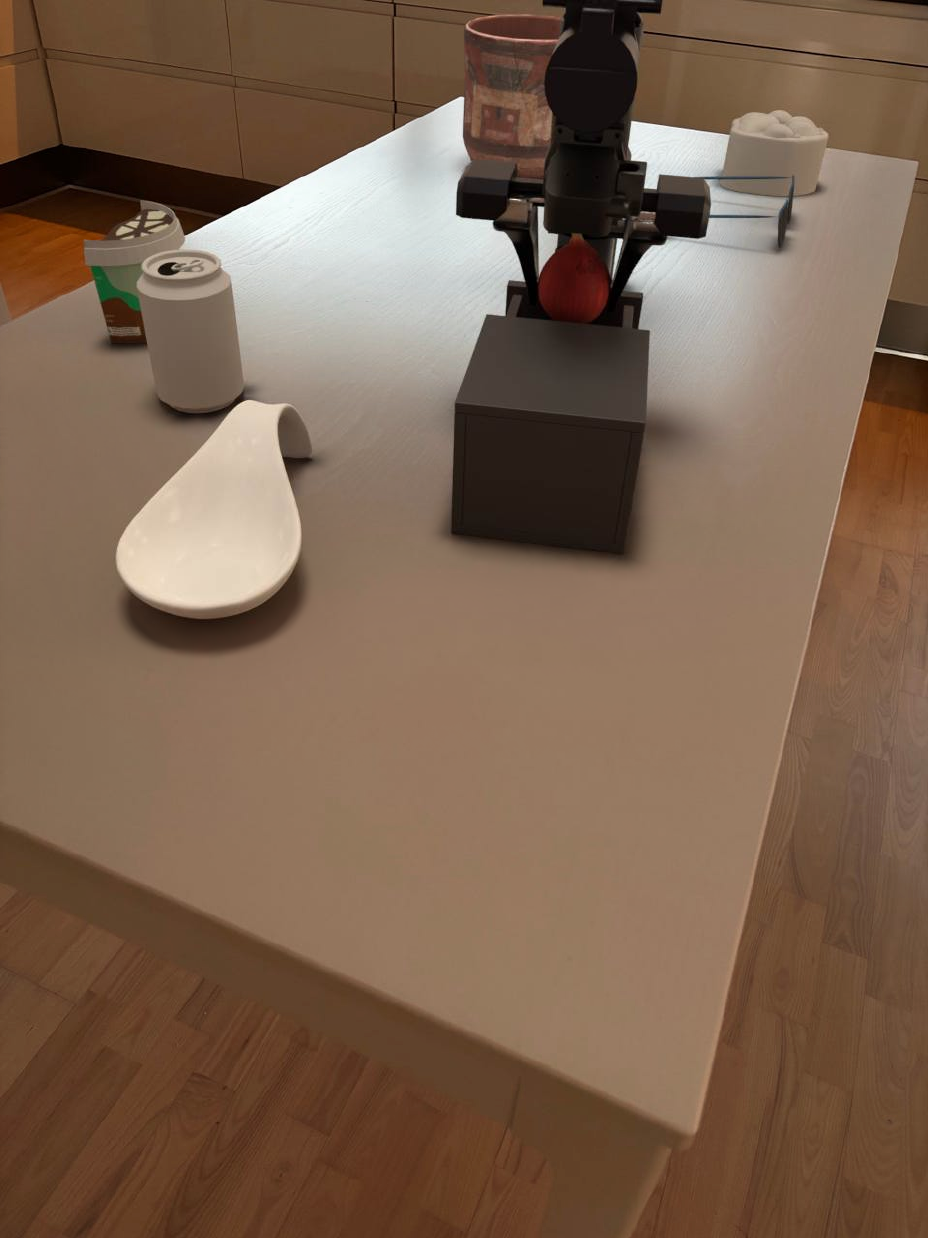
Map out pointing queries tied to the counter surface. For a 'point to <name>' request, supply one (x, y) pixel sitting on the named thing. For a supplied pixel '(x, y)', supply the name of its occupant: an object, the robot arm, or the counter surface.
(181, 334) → the can
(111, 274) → the food container
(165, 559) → the spoon rest
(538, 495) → the dark grey storage box
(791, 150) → the lumpy-topped squat cylinder
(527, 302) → the drawer
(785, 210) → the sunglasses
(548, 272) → the onion
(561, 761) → the counter surface
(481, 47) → the pottery
